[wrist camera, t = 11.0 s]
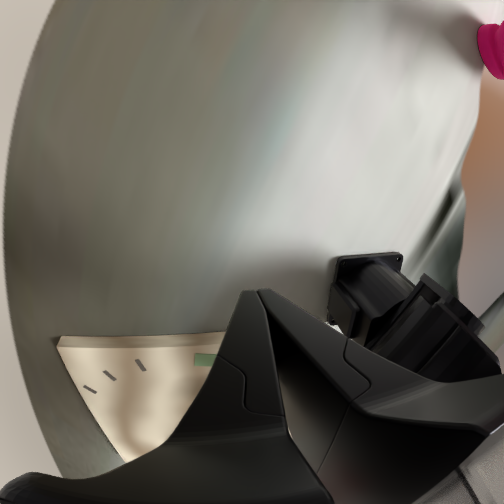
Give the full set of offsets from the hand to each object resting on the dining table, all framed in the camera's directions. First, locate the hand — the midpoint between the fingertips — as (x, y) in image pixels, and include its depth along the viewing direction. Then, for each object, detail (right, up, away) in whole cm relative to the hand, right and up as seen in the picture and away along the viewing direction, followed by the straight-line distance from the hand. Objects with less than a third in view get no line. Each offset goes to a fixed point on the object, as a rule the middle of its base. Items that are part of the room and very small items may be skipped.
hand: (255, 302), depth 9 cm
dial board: (-6, -15, +19) cm, 25 cm away
